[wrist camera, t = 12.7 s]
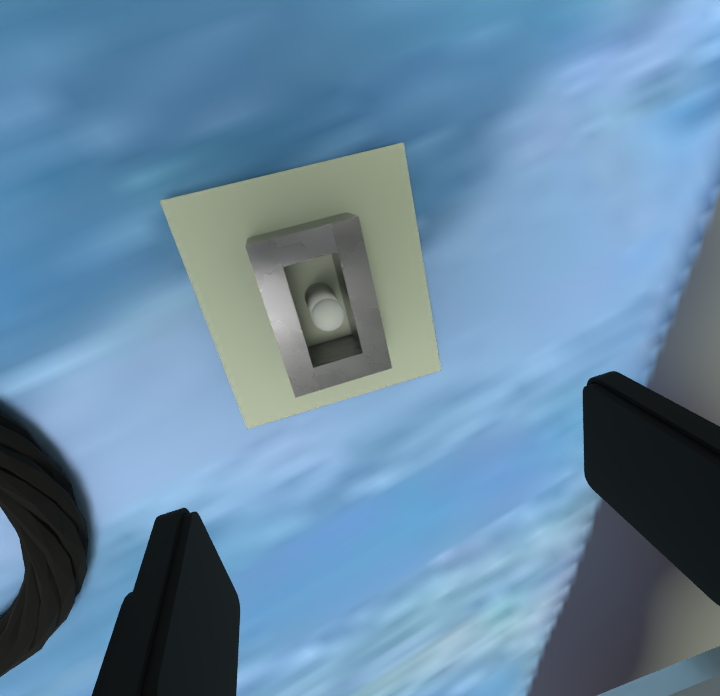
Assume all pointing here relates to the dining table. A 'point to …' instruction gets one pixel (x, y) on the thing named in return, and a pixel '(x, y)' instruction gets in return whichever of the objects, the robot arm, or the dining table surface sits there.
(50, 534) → the cable lock
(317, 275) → the keeper board
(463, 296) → the dining table surface
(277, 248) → the grey rectangular frame
